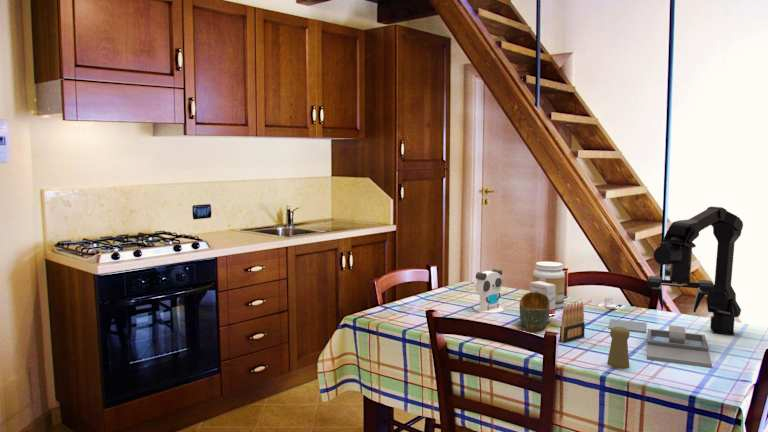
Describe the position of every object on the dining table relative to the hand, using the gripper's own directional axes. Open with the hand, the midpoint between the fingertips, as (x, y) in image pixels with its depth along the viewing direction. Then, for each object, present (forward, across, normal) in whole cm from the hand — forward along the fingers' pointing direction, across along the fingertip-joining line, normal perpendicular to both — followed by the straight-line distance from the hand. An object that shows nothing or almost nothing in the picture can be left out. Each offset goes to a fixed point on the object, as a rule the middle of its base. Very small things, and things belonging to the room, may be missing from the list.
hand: (678, 310), depth 199 cm
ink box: (+11, +45, -19) cm, 50 cm away
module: (+11, 0, 0) cm, 11 cm away
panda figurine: (+11, +65, -17) cm, 68 cm away
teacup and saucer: (+12, +25, -40) cm, 48 cm away
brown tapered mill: (+11, +16, +29) cm, 35 cm away
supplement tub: (+11, +45, -33) cm, 57 cm away
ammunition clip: (+11, +31, +9) cm, 34 cm away
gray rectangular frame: (+11, 0, +6) cm, 13 cm away
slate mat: (+11, +15, -15) cm, 24 cm away
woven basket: (+11, +45, -3) cm, 46 cm away
